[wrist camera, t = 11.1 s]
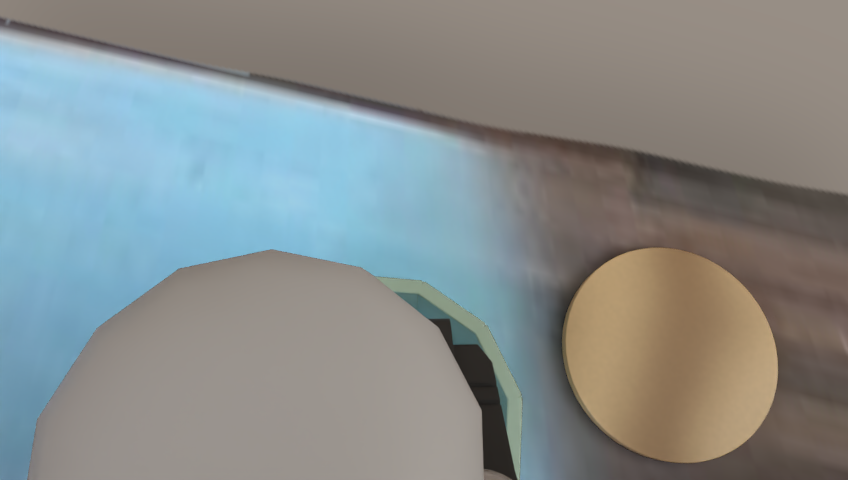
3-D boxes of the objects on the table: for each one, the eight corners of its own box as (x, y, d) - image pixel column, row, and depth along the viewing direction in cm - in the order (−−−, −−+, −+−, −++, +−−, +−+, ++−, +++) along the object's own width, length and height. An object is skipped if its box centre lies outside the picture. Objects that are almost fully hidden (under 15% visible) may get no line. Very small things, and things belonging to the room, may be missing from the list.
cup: (240, 543, 22) (186, 582, 17) (280, 296, 25) (245, 264, 20) (491, 566, 22) (515, 613, 17) (502, 315, 25) (526, 289, 20)
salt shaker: (220, 449, 17) (-309, 541, 4) (346, 297, 18) (219, 40, 6) (375, 586, 16) (263, 1201, 3) (495, 415, 17) (724, 410, 5)
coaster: (560, 451, 23) (563, 452, 23) (563, 242, 26) (566, 238, 26) (779, 471, 23) (789, 473, 23) (760, 259, 26) (768, 256, 25)
